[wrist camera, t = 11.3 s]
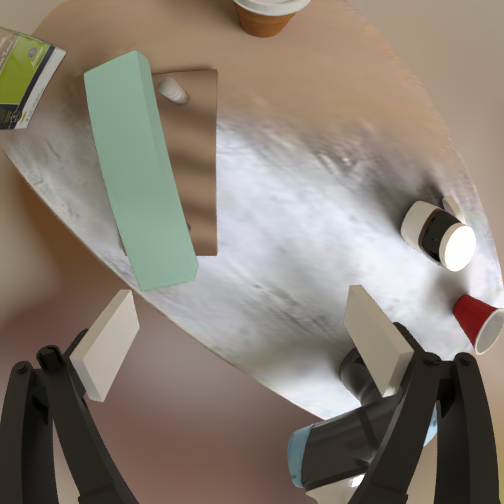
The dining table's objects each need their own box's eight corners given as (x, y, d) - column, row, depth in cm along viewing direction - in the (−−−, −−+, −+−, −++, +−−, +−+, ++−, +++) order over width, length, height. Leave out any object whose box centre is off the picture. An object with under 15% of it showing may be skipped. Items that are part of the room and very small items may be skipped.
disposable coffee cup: (215, 26, 29) (207, -15, 17) (255, -12, 26) (261, -56, 15) (269, 58, 31) (283, 24, 20) (307, 19, 29) (331, -19, 17)
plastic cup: (481, 298, 48) (511, 323, 37) (453, 331, 51) (480, 361, 40) (469, 274, 45) (504, 300, 34) (439, 311, 48) (470, 343, 37)
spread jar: (388, 230, 41) (429, 258, 30) (419, 172, 38) (466, 184, 27) (429, 259, 43) (467, 288, 33) (457, 208, 40) (500, 227, 29)
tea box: (39, 39, 25) (-11, 21, 11) (68, 52, 27) (14, 30, 14) (2, 111, 29) (-53, 113, 15) (26, 130, 31) (-34, 135, 17)
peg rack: (217, 251, 41) (211, 281, 32) (128, 252, 40) (104, 279, 31) (217, 72, 32) (211, 49, 23) (122, 82, 31) (91, 68, 22)
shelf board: (198, 265, 31) (193, 281, 27) (151, 275, 31) (141, 291, 28) (148, 60, 23) (136, 49, 19) (100, 80, 23) (83, 73, 19)
